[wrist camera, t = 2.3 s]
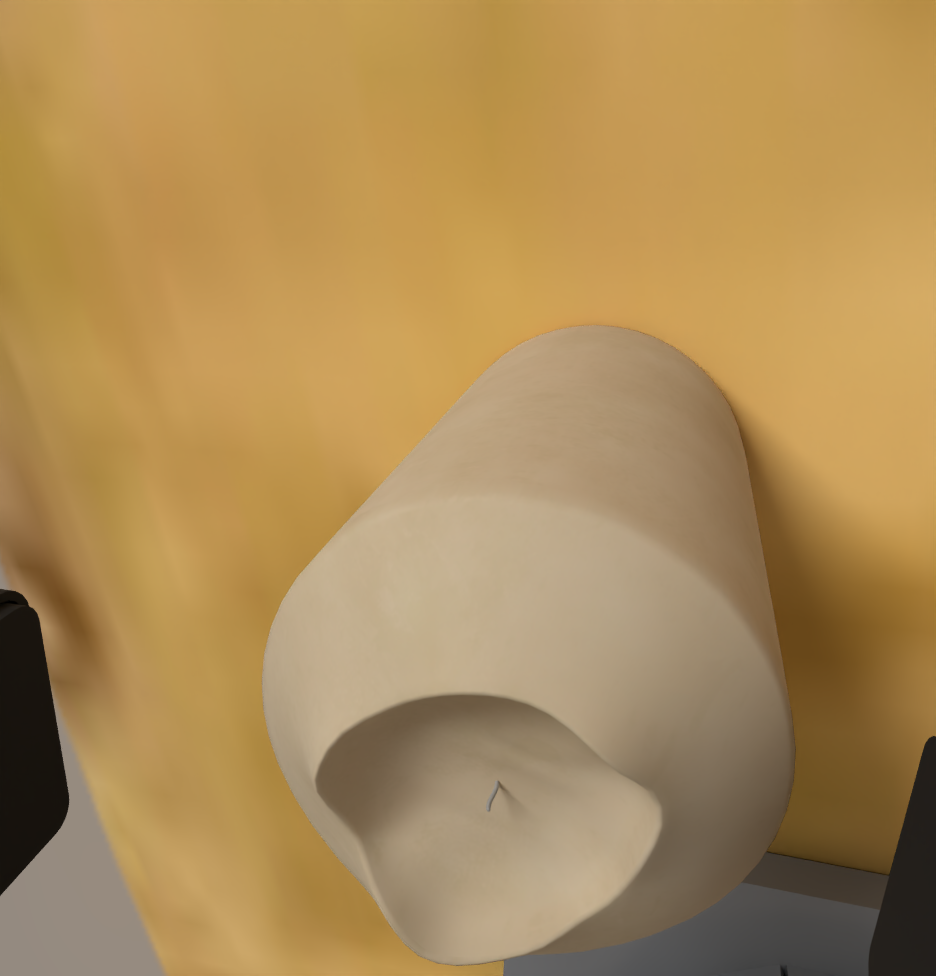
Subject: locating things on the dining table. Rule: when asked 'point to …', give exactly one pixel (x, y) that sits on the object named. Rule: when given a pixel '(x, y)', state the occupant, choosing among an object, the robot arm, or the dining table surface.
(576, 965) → the candle dish
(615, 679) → the candle
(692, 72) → the dining table surface
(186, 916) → the dining table surface
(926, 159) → the dining table surface
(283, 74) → the dining table surface
